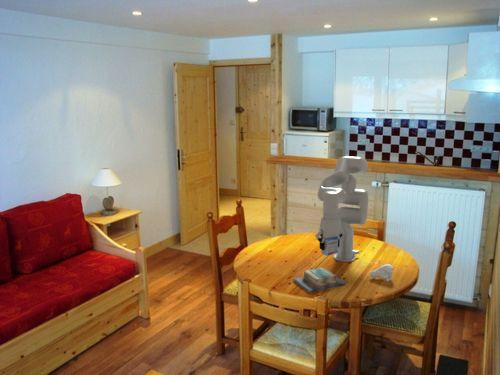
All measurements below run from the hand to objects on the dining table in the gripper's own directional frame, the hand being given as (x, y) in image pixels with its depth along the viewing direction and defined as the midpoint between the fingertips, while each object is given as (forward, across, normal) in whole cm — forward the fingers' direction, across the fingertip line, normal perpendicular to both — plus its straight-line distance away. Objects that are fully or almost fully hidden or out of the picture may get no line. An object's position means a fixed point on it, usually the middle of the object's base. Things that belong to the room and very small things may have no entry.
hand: (329, 247), depth 235 cm
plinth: (+20, +3, -3) cm, 20 cm away
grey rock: (+20, -28, +8) cm, 36 cm away
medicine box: (+3, 0, 0) cm, 3 cm away
